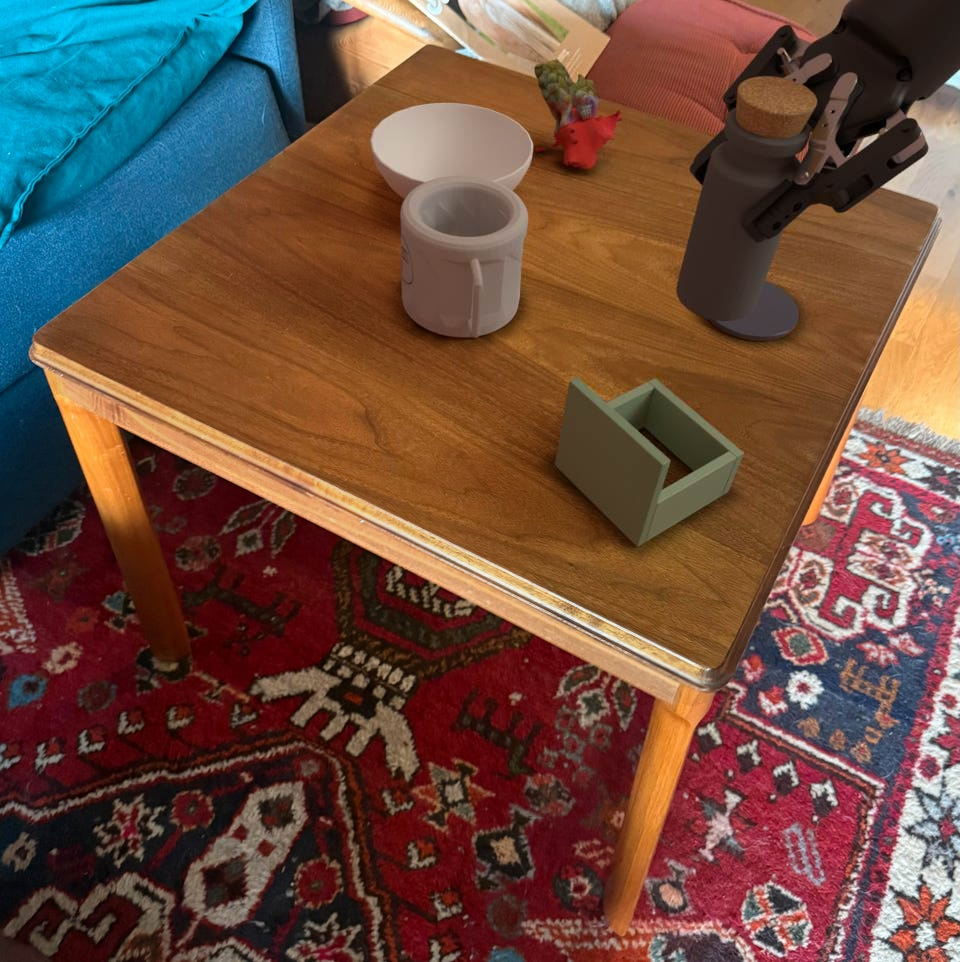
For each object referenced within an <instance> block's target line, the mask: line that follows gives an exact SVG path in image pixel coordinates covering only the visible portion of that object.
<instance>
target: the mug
mask: <svg viewBox="0 0 960 962" xmlns="http://www.w3.org/2000/svg"><path fill="white" fill-rule="evenodd" d="M400 207H401V208H400V213H399V214H400V255H401V256H400V257H401V261H400V262H401V264H400V265H401V297H402V298H401V301H402V306H403V309H404V310H405V312H406V314H407V315H408V316H409V317H410V319H411V320H413V321H414V322H415V323H416V324H418V325H419V326H421V327H423V328H424V329H426V330H428V331H429V332H431V333H435V334H438V335H441V336H445V337H450V338H462V339H463V338H474V339H477V338H479V337H480V336H485V335H488V334H491V333H493V332H496V331H498V330H500V329H502V328H503V327H505V326H506V325H508V324H509V323H510V322H511V321H512V320H513V319H514V317H515V315H516V314H517V311H518V308H519V303H520V298H521V283H522V261H523V254H524V244H525V238H526V237H527V233H528V225H529V213H528V209H527V207H526V205H525V203H524V201H523V200H522V198H521V197H520V196H519V195H518V194H517V193H516V192H515V191H514V190H513V191H512V190H511V189H509V188H507V187H506V186H504V185H502V184H500V183H497V182H494V181H491V180H488V179H484V178H479V177H472V176H448V177H442V178H437V179H433V180H430V181H427V182H425V183H423V184H421V185H419V186H417V187H416V188H415V189H413V190H412V191H411V192H410V193H409V194H408V196H407V197H406V198H405V199H403V201H402V204H401V206H400Z"/></svg>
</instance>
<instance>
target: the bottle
mask: <svg viewBox="0 0 960 962" xmlns="http://www.w3.org/2000/svg"><path fill="white" fill-rule="evenodd" d="M816 105H817V98H816V96H815V94H814V93H813V92H812V91H811V90H810V89H808V88H807V87H805V86H804V85H802V84H800V83H797V82H795V81H792V80H789V79H784V78H780V77H772V76H761V77H754V78H750V79H747V80H745V81H743V82H742V83H741V84H740V85H739V87H738V90H737V106H736V108H734V109H733V110H731V111H730V113H729V112H728V114H727V116H726V119H725V122H724V127H723V128H724V134H725V136H726V138H727V139H728V141H726V142H724V143H722V144H720V145H719V146H717V147H716V148H715V149H714V150H713V152H712V154H711V157H710V161H709V164H708V167H707V171H706V174H705V178H704V182H703V186H702V185H701V190H700V193H699V198H698V201H697V205H696V209H695V213H694V216H693V220H692V223H691V228H690V232H689V236H688V239H687V243H686V246H685V247H686V248H685V251H684V255H683V259H682V263H681V266H680V269H679V273H678V277H677V281H676V283H677V284H676V290H675V291H676V296H677V298H678V300H679V302H680V303H681V304H682V305H683V307H685V308H686V310H688V311H690V312H691V313H693V314H695V315H696V316H699V317H702V318H703V319H707V320H708V319H711V320H717V321H733V320H738V319H741V318H744V317H746V316H747V315H749V314H750V313H751V312H752V311H753V310H754V308H755V306H756V304H757V302H758V299H759V296H760V293H761V291H762V288H763V285H764V282H765V281H767V280H766V279H767V277H768V274H769V272H770V269H771V266H772V263H773V261H774V257H775V254H776V251H777V248H778V246H779V243H780V240H781V238H782V235H783V232H784V229H785V228H783V230H782V231H781V232H780V233H779V234H778V235H776V236H775V237H773V238H771V239H769V240H768V239H767V238H766V239H765V240H764V241H762V242H759V243H757V242H755V241H754V240H753V239H752V237H751V236H750V235H749V234H748V233H747V232H746V231H745V229H744V228H743V227H742V226H741V221H742V219H743V218H744V217H745V216H746V215H747V214H748V213H749V212H750V211H751V210H752V209H753V208H755V207H756V206H757V205H758V204H759V203H760V202H761V201H762V200H763V199H764V198H765V197H766V196H768V195H769V194H770V193H771V192H772V191H773V190H774V189H775V188H776V187H777V186H778V185H779V184H781V183H782V182H783V181H784V180H785V179H786V178H787V179H788V180H789V181H790V182H792V181H793V180H794V175H795V173H796V171H797V169H798V167H799V165H800V164H801V161H800V160H799V158H798V157H797V155H798V154H800V153H802V152H803V151H804V150H805V148H806V147H807V145H808V141H809V138H810V135H811V132H810V131H811V130H810V126H809V124H808V123H807V121H808V119H809V118H810V116H811V114H812V112H813V111H814V109H815V107H816Z"/></svg>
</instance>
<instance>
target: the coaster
mask: <svg viewBox="0 0 960 962" xmlns="http://www.w3.org/2000/svg"><path fill="white" fill-rule="evenodd" d="M799 318H800V312H799V307H798V305H797V303H796V301H795V300H794V299H793V297H792V296H791V295H790V294H789V293H788V292H786V291H785V290H784V289H783V288H781V287H780V286H778V285H776V284H774V283H772V282H769V281H767V280H765V282H764V285H763V288H762V291H761V293H760V296H759V299H758V302H757V304H756V306H755V308H754V310H753V311H752V312H751V313H750V314H749V315H747V316H746V317H744V318H741V319H738V320H733V321H717V320H711V319H707V320H708V321H709V323H711V324H712V325H713V326H714V327H716V328H717V329H718V330H720V331H721V332H723V333H726V334H727V335H730V336H732V337H735V338H738V339H742V340H746V341H751V342H771V341H776V340H779V339H782V338H784V337H786V336H788V335H789V334H791V332H793V331H794V329H795V328H796V326H797V323H798V321H799Z"/></svg>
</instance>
